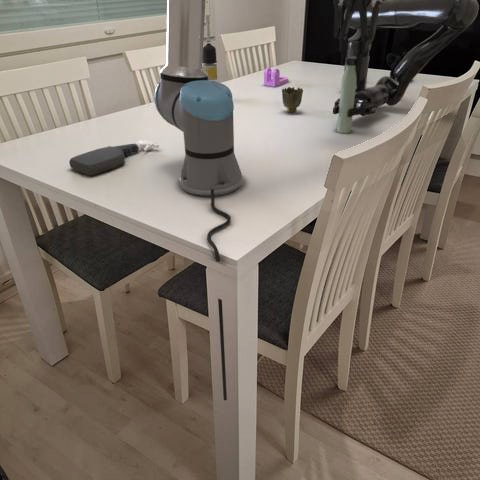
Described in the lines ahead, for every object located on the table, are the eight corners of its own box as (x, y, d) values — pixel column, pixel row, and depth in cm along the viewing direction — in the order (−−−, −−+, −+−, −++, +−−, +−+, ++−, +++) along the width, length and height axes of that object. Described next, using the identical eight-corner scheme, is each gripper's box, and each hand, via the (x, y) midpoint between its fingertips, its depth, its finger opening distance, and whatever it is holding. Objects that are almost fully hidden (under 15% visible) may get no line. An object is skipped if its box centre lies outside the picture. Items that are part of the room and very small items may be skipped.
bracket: (274, 86, 193) (275, 69, 190) (264, 85, 196) (264, 68, 193) (290, 81, 202) (291, 64, 198) (279, 79, 205) (280, 63, 201)
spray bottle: (67, 168, 120) (139, 144, 136) (91, 178, 114) (163, 151, 130) (65, 157, 118) (137, 134, 134) (89, 167, 112) (162, 142, 128)
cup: (277, 113, 160) (278, 90, 155) (285, 108, 165) (286, 85, 161) (297, 115, 157) (298, 92, 152) (304, 110, 162) (306, 87, 158)
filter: (220, 99, 177) (217, 15, 161) (206, 100, 176) (202, 16, 160) (215, 96, 182) (212, 14, 166) (202, 97, 180) (197, 14, 164)
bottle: (335, 132, 142) (342, 61, 130) (338, 128, 145) (346, 58, 134) (348, 134, 140) (356, 62, 129) (352, 129, 143) (360, 59, 132)
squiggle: (400, 92, 202) (376, 71, 205) (417, 76, 202) (392, 56, 205) (405, 81, 191) (380, 59, 194) (423, 64, 191) (397, 42, 194)
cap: (342, 65, 131) (343, 58, 130) (345, 62, 134) (345, 55, 133) (356, 66, 130) (357, 59, 129) (358, 63, 133) (359, 56, 132)
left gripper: (325, -27, 121) (319, 64, 133) (388, -28, 113) (375, 69, 125) (335, -28, 126) (328, 60, 138) (396, -28, 118) (383, 64, 131)
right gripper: (349, 86, 150) (322, 96, 139) (389, 92, 142) (364, 103, 131) (346, 108, 154) (320, 120, 143) (385, 115, 146) (361, 128, 135)
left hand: (350, 64), depth 132 cm, fingers closed on cap, 4 cm apart
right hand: (341, 112), depth 137 cm, fingers closed on bottle, 4 cm apart
